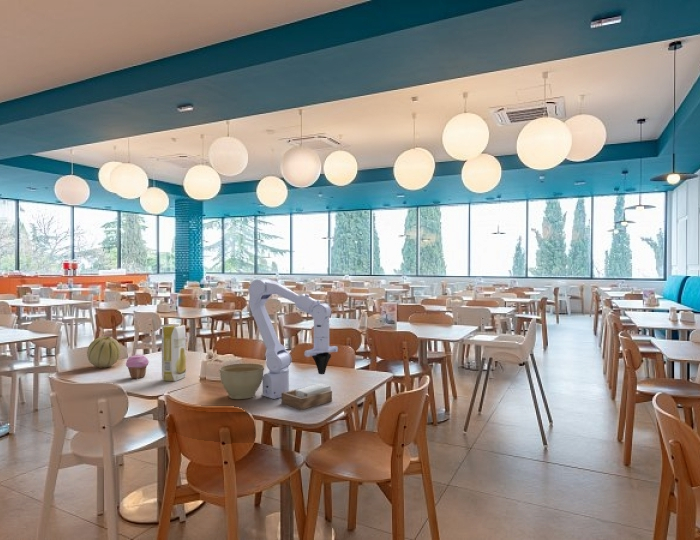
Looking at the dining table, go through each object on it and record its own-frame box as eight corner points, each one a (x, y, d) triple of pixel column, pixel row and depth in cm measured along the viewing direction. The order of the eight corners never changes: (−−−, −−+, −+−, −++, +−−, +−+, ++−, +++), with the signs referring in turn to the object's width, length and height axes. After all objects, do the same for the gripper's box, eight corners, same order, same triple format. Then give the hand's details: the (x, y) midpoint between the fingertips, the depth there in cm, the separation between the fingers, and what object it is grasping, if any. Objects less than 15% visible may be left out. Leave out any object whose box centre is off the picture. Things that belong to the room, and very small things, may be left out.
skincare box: (319, 394, 175) (295, 402, 166) (319, 382, 175) (294, 389, 166) (331, 397, 171) (307, 405, 162) (331, 384, 171) (306, 392, 162)
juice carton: (176, 382, 197) (175, 324, 197) (159, 381, 198) (158, 324, 198) (188, 376, 206) (188, 322, 206) (171, 376, 207) (171, 321, 207)
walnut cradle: (301, 409, 159) (301, 399, 159) (281, 403, 166) (281, 392, 166) (331, 401, 169) (331, 391, 168) (311, 395, 176) (311, 385, 176)
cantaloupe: (98, 363, 234) (97, 333, 234) (127, 364, 233) (126, 333, 233) (79, 370, 219) (79, 338, 219) (110, 370, 218) (110, 338, 218)
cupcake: (137, 380, 199) (137, 357, 199) (121, 379, 202) (121, 355, 202) (152, 376, 208) (152, 353, 208) (137, 374, 211) (136, 352, 210)
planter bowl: (273, 395, 176) (273, 366, 176) (236, 405, 164) (236, 374, 164) (247, 388, 187) (247, 360, 187) (211, 396, 175) (210, 367, 174)
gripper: (313, 340, 164) (313, 379, 164) (343, 335, 175) (343, 372, 175) (300, 337, 169) (300, 375, 169) (330, 333, 180) (330, 369, 180)
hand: (321, 373), depth 172 cm, fingers closed
